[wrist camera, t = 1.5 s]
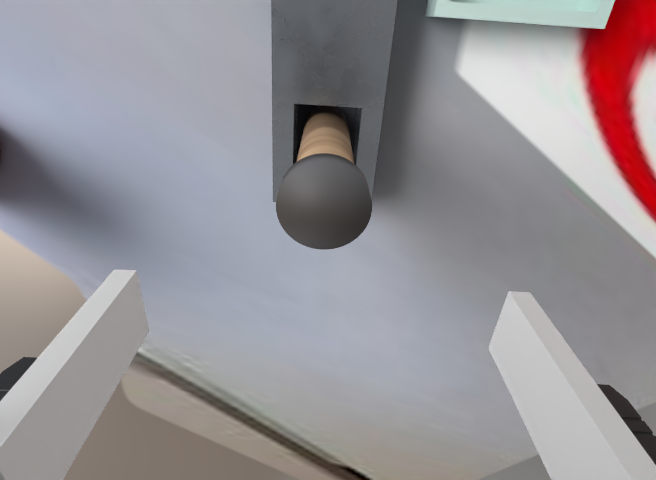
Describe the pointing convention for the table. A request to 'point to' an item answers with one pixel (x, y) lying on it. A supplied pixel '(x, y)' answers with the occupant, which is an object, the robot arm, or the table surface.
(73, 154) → the table surface
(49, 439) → the robot arm
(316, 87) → the block
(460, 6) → the tray
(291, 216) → the pin
